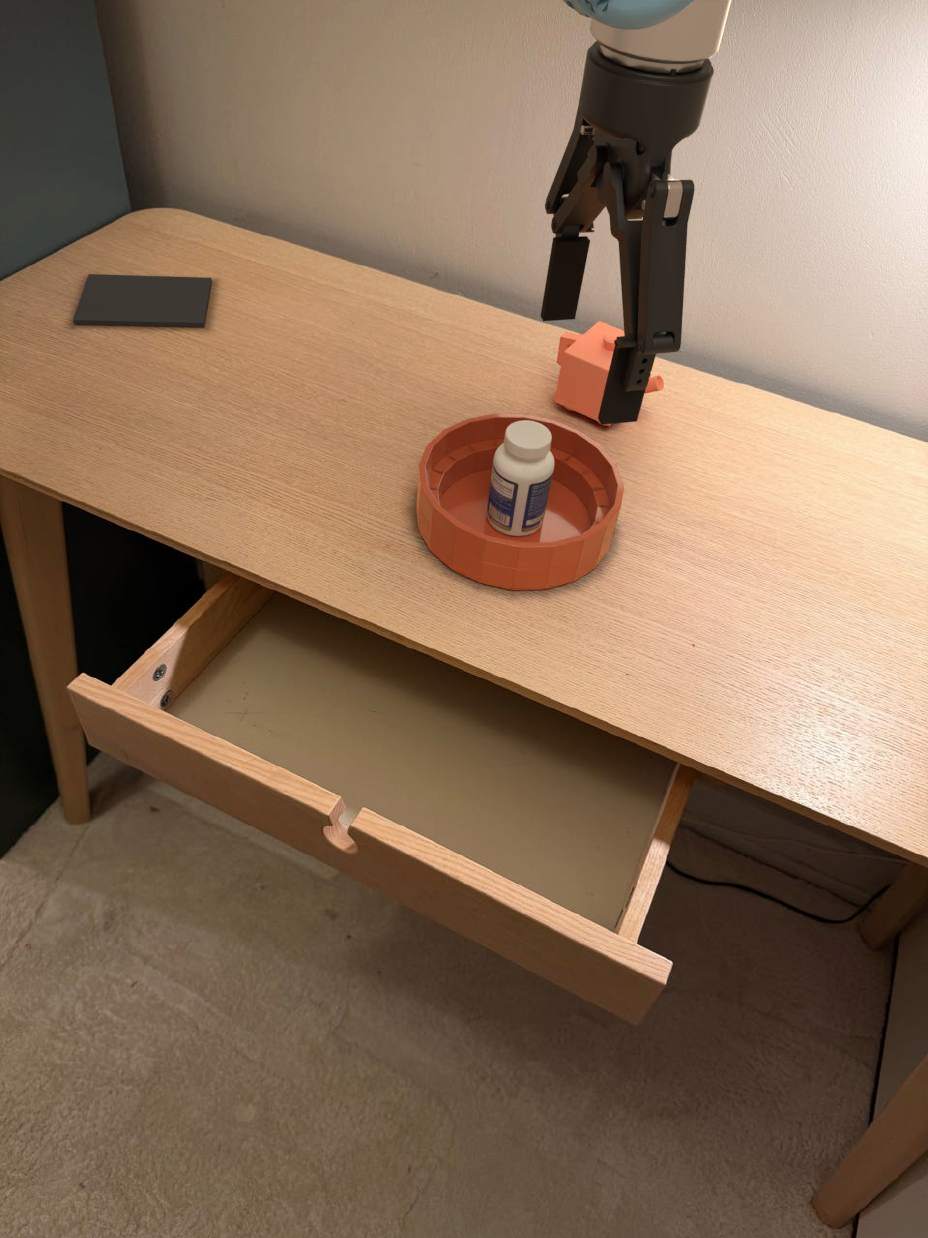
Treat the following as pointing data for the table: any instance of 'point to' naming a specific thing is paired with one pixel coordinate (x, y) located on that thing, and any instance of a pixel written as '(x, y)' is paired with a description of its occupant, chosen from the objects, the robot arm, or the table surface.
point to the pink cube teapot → (589, 369)
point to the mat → (144, 301)
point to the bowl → (572, 516)
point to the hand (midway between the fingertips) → (585, 366)
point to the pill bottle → (521, 479)
